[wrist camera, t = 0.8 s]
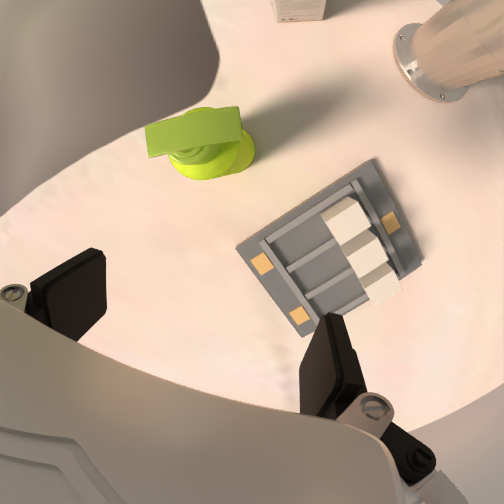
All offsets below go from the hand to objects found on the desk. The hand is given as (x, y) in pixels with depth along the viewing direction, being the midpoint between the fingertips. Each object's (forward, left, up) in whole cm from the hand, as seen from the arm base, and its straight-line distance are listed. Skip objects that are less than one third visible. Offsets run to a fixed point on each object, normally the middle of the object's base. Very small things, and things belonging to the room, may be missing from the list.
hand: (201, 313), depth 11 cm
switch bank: (-5, +10, -25) cm, 28 cm away
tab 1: (-8, +6, -23) cm, 26 cm away
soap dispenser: (-2, -8, -25) cm, 26 cm away
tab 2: (-8, +10, -24) cm, 27 cm away
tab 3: (-8, +15, -23) cm, 29 cm away
